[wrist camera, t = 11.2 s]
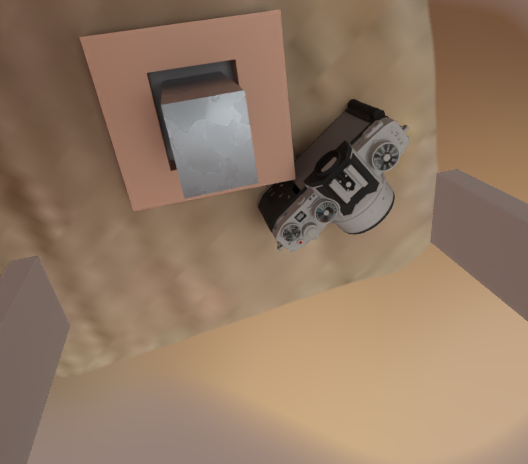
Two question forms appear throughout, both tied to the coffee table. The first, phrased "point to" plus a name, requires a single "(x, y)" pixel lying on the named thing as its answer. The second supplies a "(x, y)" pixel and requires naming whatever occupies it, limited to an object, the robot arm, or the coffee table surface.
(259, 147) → the pink square frame
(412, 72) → the coffee table surface
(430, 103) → the coffee table surface
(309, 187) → the camera
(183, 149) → the grey wood-topped pillar
